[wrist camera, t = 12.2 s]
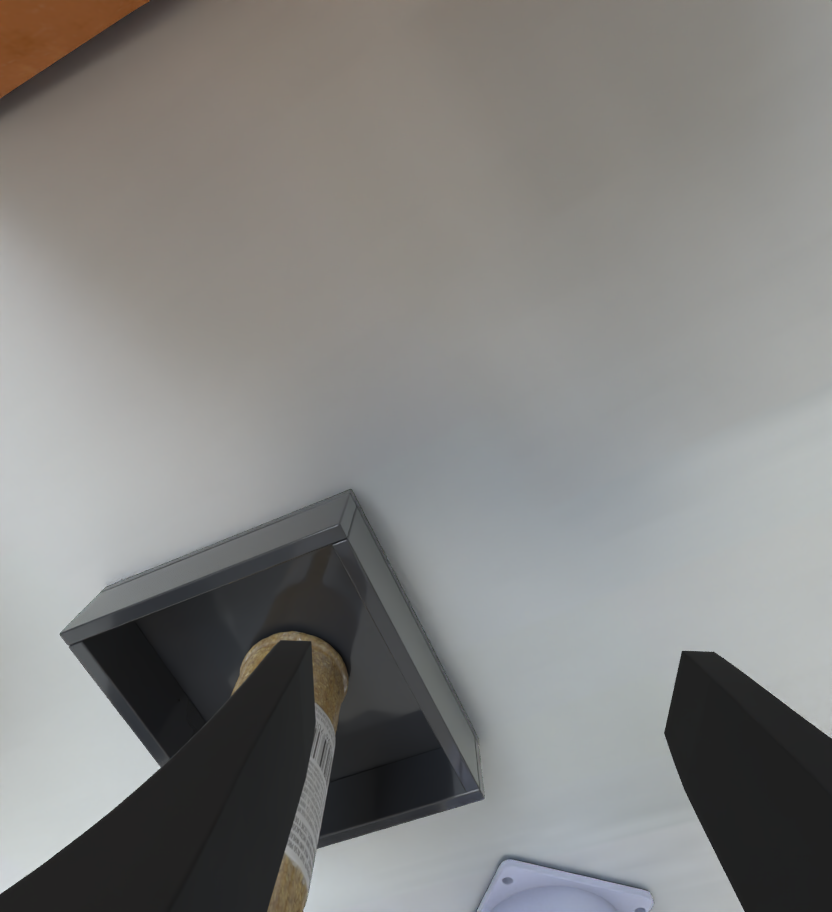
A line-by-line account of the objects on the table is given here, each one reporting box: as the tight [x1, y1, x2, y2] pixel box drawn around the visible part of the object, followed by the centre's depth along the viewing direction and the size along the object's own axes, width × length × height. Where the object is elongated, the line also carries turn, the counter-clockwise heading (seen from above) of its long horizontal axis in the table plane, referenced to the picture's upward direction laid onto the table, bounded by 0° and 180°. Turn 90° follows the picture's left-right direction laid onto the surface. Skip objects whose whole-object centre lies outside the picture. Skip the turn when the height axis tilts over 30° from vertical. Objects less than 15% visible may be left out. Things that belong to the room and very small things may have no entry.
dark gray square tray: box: [60, 489, 485, 849], centre depth 22 cm, size 13×11×3 cm
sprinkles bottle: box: [231, 631, 349, 912], centre depth 17 cm, size 5×5×14 cm
